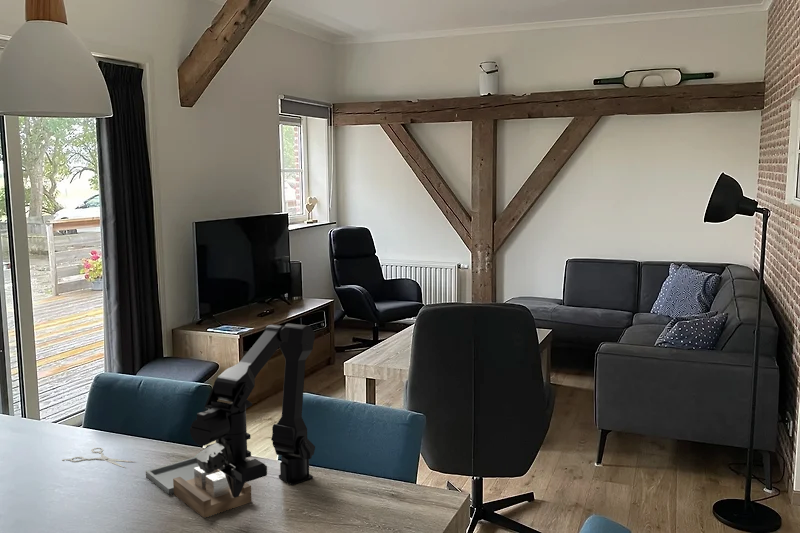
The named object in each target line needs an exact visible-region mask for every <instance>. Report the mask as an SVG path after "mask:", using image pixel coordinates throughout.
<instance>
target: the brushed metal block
mask: <svg viewBox="0 0 800 533" xmlns="http://www.w3.org/2000/svg"><path fill="white" fill-rule="evenodd" d="M205 478H206V492H207V493H208V494H209V495H211V496H212V497H214V498H215V497H218V496H221V495H224V494H227V493H230V487H229V484H228V481H227V479H226V476H225V474H224V473H223V472H222V471H220V472H217V473H213V474H210V475H207V476H205Z"/></svg>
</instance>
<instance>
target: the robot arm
mask: <svg viewBox="0 0 800 533" xmlns="http://www.w3.org/2000/svg"><path fill="white" fill-rule="evenodd" d="M315 338H316V335H315V330H313V328H312V326H310V325H305V324H299V323H297V324H296V323H290V322H289V323H288V322H287V323H286V324H284V325H279V324H269V325H267V326H265V328H264V330H263V333H262V334H261V335H260V336H259V337H258V339H257V340H256V341H255V343H254V344H253V345H252V347H250V348H249V350H248V351H247V352H246V353H245V354H244V356H242V358H241V360H239V362H238V363H236V364H235V365H232V366H230V367H228V368H226V369H225V370H223V371H222V372H221V374H219V375H218V376H217V377H216V379H215V380H214V383H213V386H212V388H211V390H210V392H209V395H208V398H207V400H206V401H205V404H204V408H205V409H207V410H205V411H201V412H197V413H196V419H195V420H193V422H191V425H190V428H189V433H190V435H191V436H190V437H191V439H192V440H193V442H194V443H195V444H197V445H198V446H200V447H204V449H203V450H201V451H200V452H198V453H197V454H196V455H195V456H194V457H195V458H196V460H197V463H198V465H199V467H200V469H201V470H203V471H205V472H206V473H212V472H213V471H214V470H217V469H219V470H220V471H222V472H223V473H224V474H225V476H226V479H227V481H228V484H229V487H230V490H231V493H232V496H233V497H234V498H236V497H238V496H239V495H240V492H241V490H242V488H243V486H244V484H245V482H246V483H248V482H251V481H254V480H257V479H260V478H263V477H264V478H265V477H267V475H268V465H266V464H265V463H264V462H261V461H260V460H259V459H257V458H254V459H249V457H252V452H251V451H250V450H248V441H249V440H250V439H251V434H250V433H248V430H247V408H250V407H252V406H253V403H252V402H251V401H250V400H248V398H249V397H250V395H251V393H252V392H253V390H254V388H255V384H256V382H255V381H256V377H257V376H258V374H259V373H260V372H261V371H262V370H263V369H264V367H265V365H266V364H267V363H268V361H269V360H270V359H271V357H273V355H274V354H275V353H276V352H277V350H278V348H280V351H281V353H282V355H283V357H284V361H285V362H284V363H285V364H284V375H283V376H284V377H283V378H284V379H283V389H282V390H283V391H282V392H283V393H282V406H281V407H282V408H281V417H280V419H279V420H278V422H277V423H273V425H272V427H271V428H272V435H271V438H270V440H271V442H272V447H273V448H274V450H275V454H276V456H281V462H280V463H279V467H280V468H279V469H280V471H279V473H280V474H279V475H278V478H279V479H280V480H282V481H284V482H286V483H288V484H289V485H291V486H294V485H296V484H297V485H298V484H300V483H303V482H305V481H308V480H309V481H310V480H311V479H313V477H314V476H313V475H312V474H310V460H311V459H312V456H314V455H315V450H316V446H315V445H314V444H313V443H312V441H310V439H308V428H307V426H306V425H307V424H306V423H305V421H304V419H303V404H304V403H303V399H304V387H305V375H306V374H305V372H306V360H308V357H309V356H310V354H311V353H312V352H313V350H314V342H315ZM219 400H221V401H219ZM223 401H225V402H223ZM213 442H215V443H213ZM205 446H206V447H205Z"/></svg>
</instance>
